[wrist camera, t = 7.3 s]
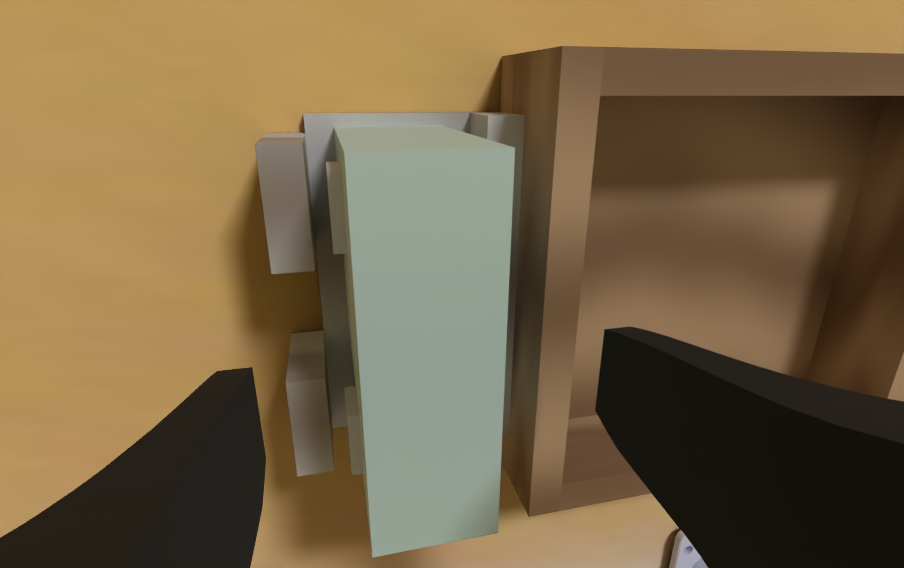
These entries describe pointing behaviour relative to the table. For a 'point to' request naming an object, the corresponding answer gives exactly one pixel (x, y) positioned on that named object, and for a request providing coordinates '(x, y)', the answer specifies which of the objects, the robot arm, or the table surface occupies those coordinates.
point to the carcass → (642, 237)
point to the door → (424, 325)
